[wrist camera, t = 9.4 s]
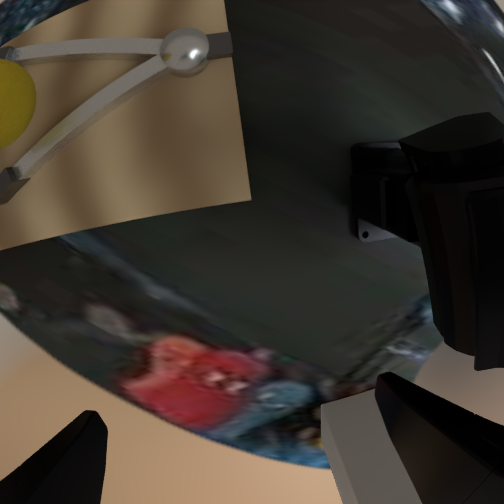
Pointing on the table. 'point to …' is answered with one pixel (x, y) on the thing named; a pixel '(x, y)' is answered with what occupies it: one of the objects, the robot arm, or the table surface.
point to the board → (127, 128)
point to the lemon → (15, 101)
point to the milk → (363, 453)
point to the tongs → (115, 94)
